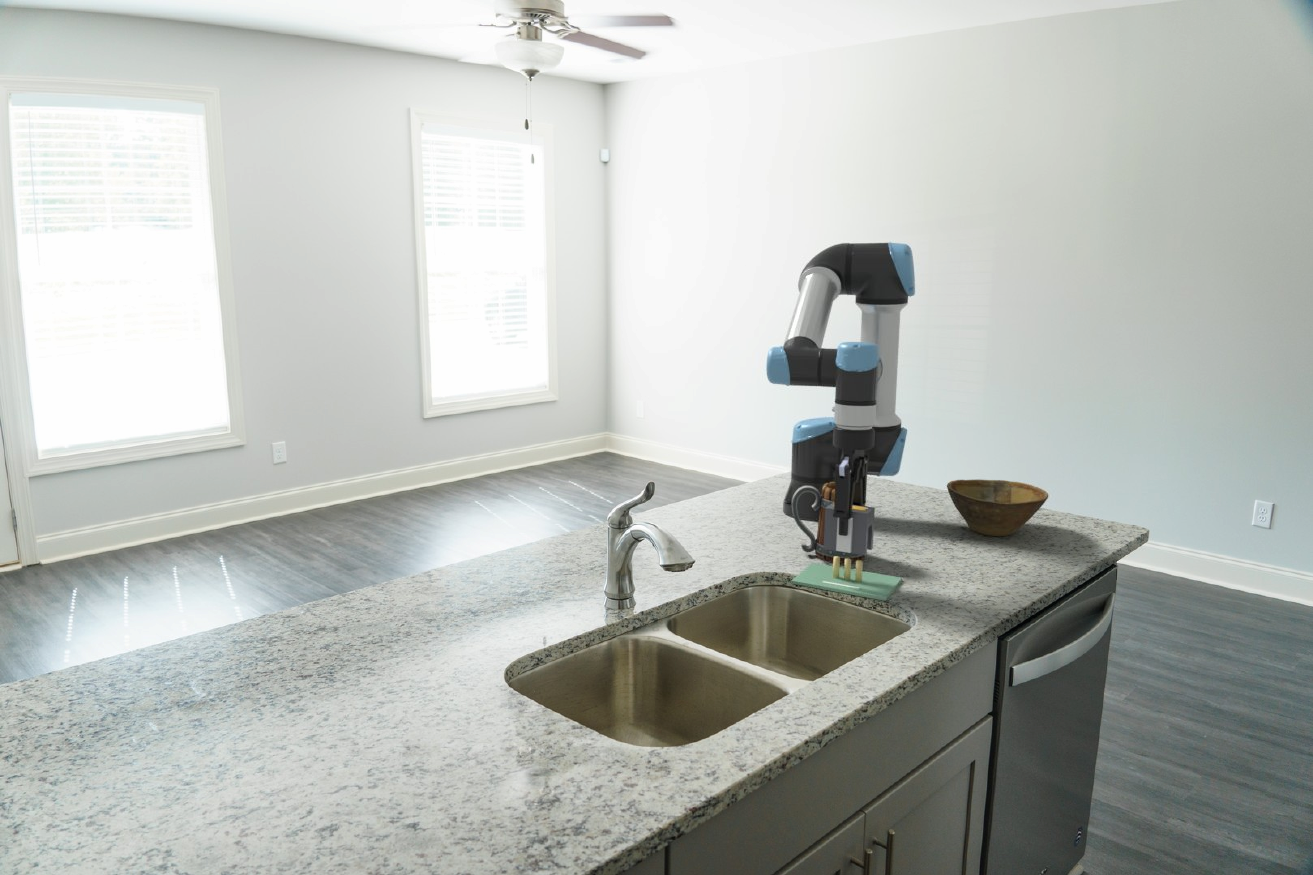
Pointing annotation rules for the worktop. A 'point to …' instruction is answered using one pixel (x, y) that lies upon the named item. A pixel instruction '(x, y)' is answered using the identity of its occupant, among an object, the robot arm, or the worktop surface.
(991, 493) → the bowl
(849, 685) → the worktop surface
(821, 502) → the mug
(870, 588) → the board
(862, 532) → the grey slotted block
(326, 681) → the worktop surface
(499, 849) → the worktop surface
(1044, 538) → the worktop surface
